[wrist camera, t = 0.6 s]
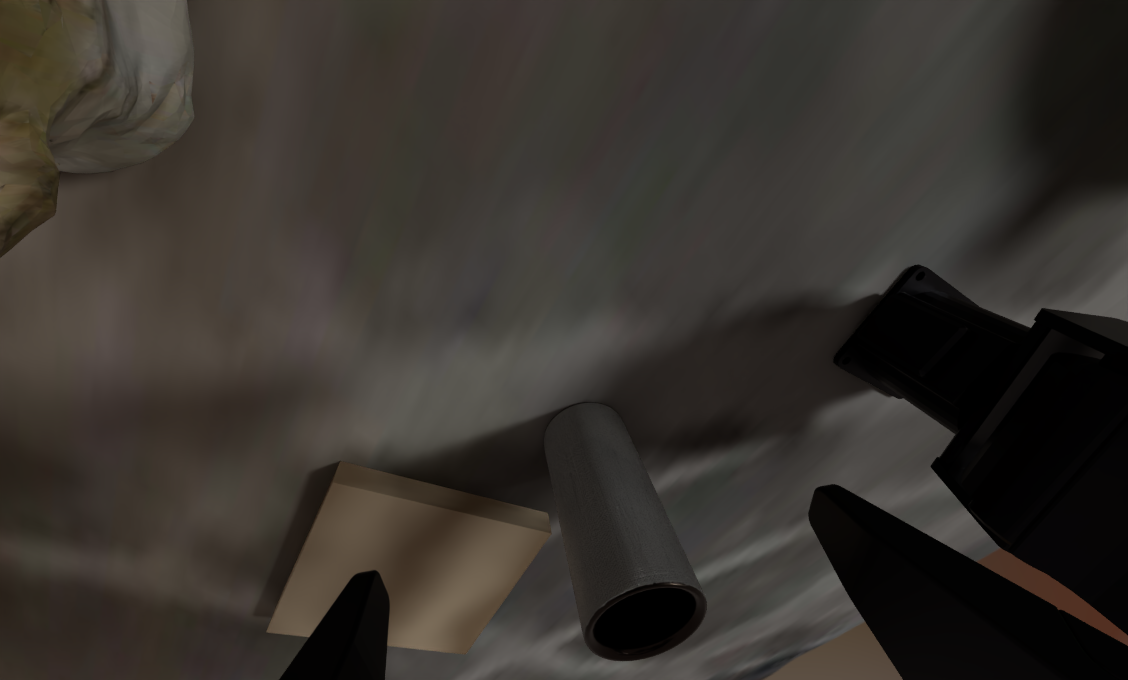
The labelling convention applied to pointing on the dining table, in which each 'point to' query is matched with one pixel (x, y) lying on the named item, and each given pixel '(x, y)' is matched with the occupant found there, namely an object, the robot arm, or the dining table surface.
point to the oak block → (411, 557)
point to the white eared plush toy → (85, 95)
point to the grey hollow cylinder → (618, 539)
